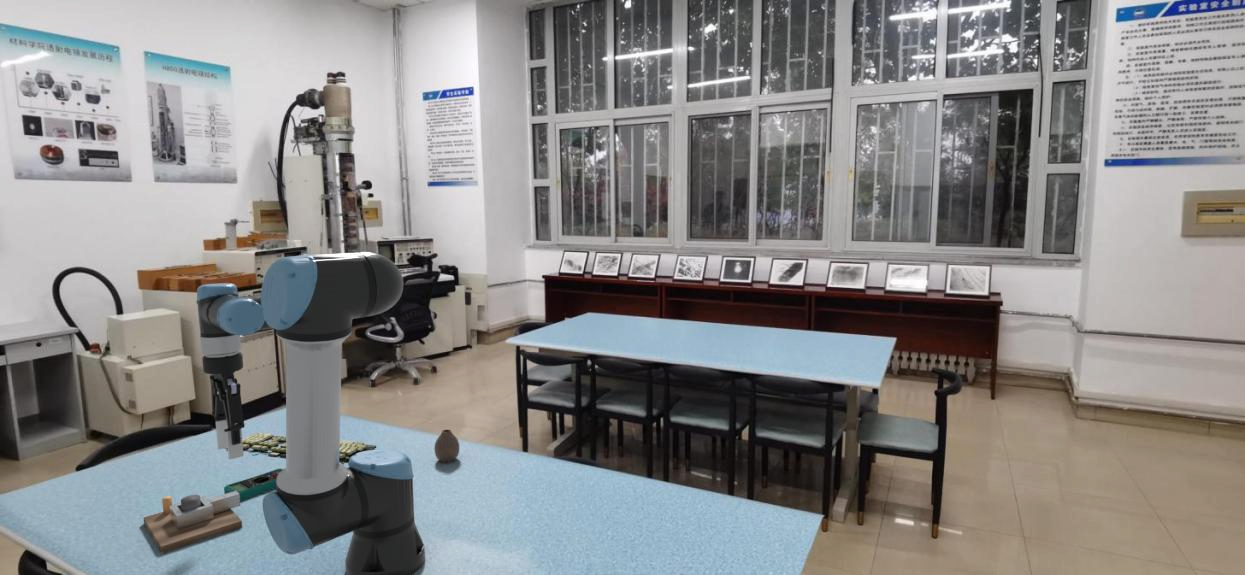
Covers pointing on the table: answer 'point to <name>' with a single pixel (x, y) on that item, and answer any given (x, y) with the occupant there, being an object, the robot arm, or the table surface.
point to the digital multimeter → (254, 485)
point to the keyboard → (261, 445)
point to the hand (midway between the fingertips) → (230, 452)
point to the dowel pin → (167, 504)
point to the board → (174, 538)
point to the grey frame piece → (204, 509)
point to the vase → (446, 446)
